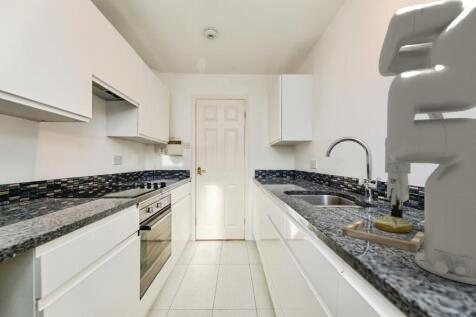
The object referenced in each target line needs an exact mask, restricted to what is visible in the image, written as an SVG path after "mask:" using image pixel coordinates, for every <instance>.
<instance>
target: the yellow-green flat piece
mask: <svg viewBox="0 0 476 317" xmlns="http://www.w3.org/2000/svg"><path fill="white" fill-rule="evenodd" d="M372 222H373V225H375V227H376V228H377V229H379V230H382V231H384V232H388V233H398V234H402V233H403V234H405V233H410V232H411V230H412V229H413V223H412V222H411V221H410V220H408V219H405V218H398V217H393V216H391V215H381V216H376V217H375V218H374V219H373V221H372Z"/></svg>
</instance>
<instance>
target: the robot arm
mask: <svg viewBox="0 0 476 317" xmlns="http://www.w3.org/2000/svg"><path fill="white" fill-rule="evenodd" d="M378 72H379V76H382V77H384V78H386V77H394V78H393V79H392V80H391V83H390V85H389V89H388V94H387V103H386V104H387V108H386V109H387V110H386V111H387V113H386V114H387V116H386V118H387V121H386V137H385V139H384V140H385V142H384V148H385V149H384V151H385V152H384V154H385V155H384V173H385V174H387V178H386V180H387V182H386V199H387V201H389V202H390V216H393V217H398V218H403V217H404V216H403V214H404V212H403V211H404V210H403V208H404V207H403V205H404V202H406V201H408V200H409V199H410V193H409V188H410V187H409V174H410V175H411V173H412V172H411V169H412V168H411V166H412V165H411V164H434V165H438V166H437V167H436V168H435V169H434V170H433V171H432V172H431V173H430V174H429V176H428V177H427V178H426V180H425V184H424V215H423V216H424V218H423V220H424V221H423V222H424V224H423V225H424V228H423V229H424V230H423V232H424V241H423V246H424V247H423V252H419V253H417V254H415V256H414V262H415V264H417V265H418V266H419V267H420V268H422V269H423V270H425V271H427V272H429V273H431V274H434V275H437V276H440V277H441V278H444V279H449V280H452V281H455V282H459V283H463V284H469V285H474V286H476V118H474V117H473V118H470V117H449V118H448V117H447V118H444V114H445V113H447V114H448V113H459V112H465V111H468V110H471V109H474V108H476V0H437V1H433V2H427V3H421V4H416V5H411V6H410V5H409V6H406V7H403V8H400V9H398V10H397V11H396V12H395V13H393V15H392V17H391V18H390V20H389V22H388V26H387V28H386V32H385V35H384V39H383V43H382V46H381V50H380V54H379V57H378ZM423 114H424V115H425V114H426V115H427V116H428V118H429V119H427V118H426V119H415V117H416V115H423ZM403 219H404V218H403Z"/></svg>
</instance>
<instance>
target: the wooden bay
mask: <svg viewBox="0 0 476 317" xmlns="http://www.w3.org/2000/svg"><path fill="white" fill-rule="evenodd" d="M364 227H365V220H360V219H359V220H357V221H355V222H353V223H351V224H349V225H347V226H345V227H343V228H341V234H342V235H343V236H346V237H351V238H356V239H359V240H364V241H367V242H372V243H376V244H380V245H385V246H389V247H391V248H396V249H399V250H400V249H401V250H405V251H407V252H408V251H409V252H412V253H417V252H418V251H419V249H420V247H421V246H422V244H424V231H420V230H419V231H417V233H416V234H415V235H414V237H413V238H412V239H411V240H410V241H406V240H401V239H398V238H397V239H396V238H393V237H388V236H383V235H378V234H375V233H370V232H365V231H360V229H362V228H364Z"/></svg>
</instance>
